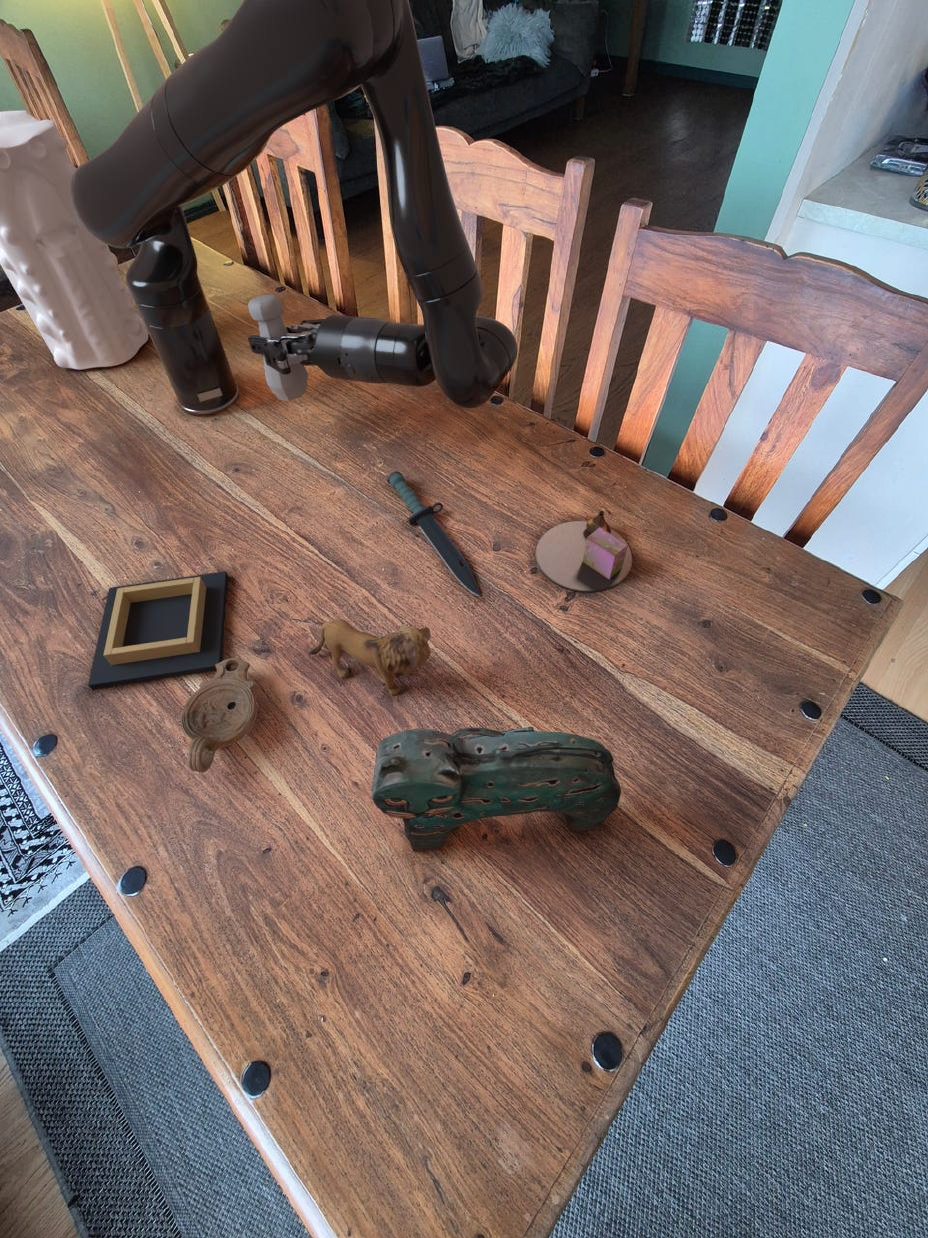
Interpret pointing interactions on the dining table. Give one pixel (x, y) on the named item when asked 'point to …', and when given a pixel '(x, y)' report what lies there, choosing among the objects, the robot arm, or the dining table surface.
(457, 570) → the knife
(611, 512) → the dining table surface
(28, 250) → the vase
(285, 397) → the salt shaker
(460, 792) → the ceramic cat
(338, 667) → the lion figurine
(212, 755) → the oil lamp
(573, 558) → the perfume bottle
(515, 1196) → the dining table surface
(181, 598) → the pad
